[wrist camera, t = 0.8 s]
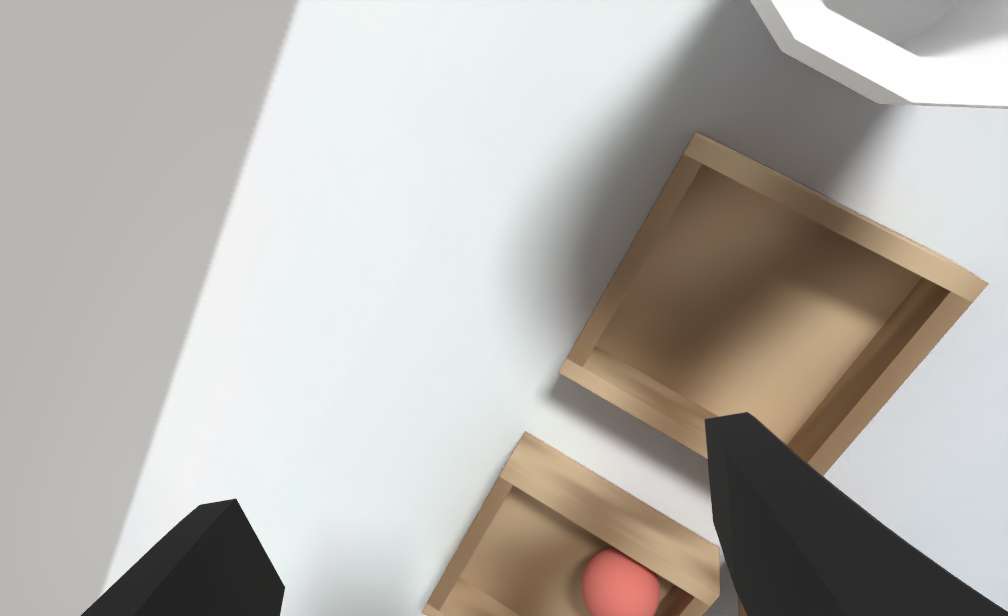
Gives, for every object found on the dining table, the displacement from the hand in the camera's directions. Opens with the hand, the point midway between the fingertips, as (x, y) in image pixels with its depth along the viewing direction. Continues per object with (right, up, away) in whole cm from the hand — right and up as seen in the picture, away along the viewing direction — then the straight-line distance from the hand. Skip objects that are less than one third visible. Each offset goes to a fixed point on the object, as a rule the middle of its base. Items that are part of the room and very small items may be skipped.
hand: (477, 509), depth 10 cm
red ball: (+6, -9, +19) cm, 22 cm away
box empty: (+10, +3, +15) cm, 18 cm away
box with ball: (+4, -9, +21) cm, 23 cm away
